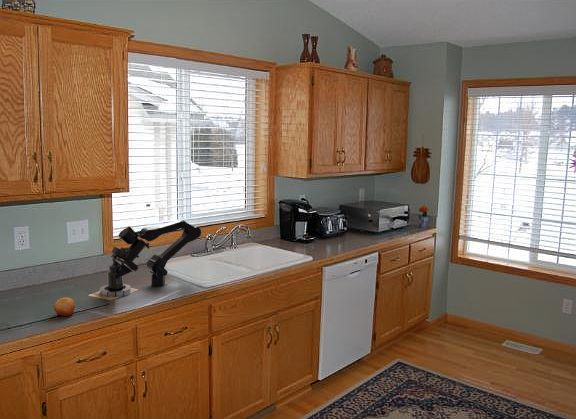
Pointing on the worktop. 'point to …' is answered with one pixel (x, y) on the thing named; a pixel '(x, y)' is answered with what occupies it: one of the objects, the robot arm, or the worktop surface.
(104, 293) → the steel ring
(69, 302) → the fruit
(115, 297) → the oak board
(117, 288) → the supplement bottle
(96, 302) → the worktop surface
